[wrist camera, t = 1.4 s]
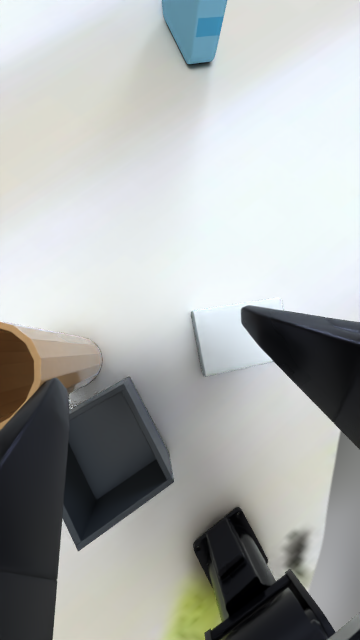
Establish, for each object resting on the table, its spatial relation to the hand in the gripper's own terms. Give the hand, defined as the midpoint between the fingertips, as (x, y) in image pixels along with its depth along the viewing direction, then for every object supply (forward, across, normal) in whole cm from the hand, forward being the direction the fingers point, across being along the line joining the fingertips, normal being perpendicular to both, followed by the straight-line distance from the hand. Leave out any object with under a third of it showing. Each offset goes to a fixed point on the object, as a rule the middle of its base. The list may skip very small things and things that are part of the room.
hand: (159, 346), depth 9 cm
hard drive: (+10, -11, +12) cm, 19 cm away
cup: (+13, +9, +8) cm, 18 cm away
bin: (+7, +8, +15) cm, 19 cm away
